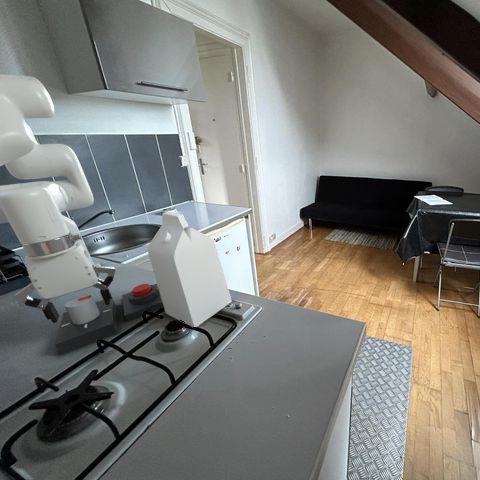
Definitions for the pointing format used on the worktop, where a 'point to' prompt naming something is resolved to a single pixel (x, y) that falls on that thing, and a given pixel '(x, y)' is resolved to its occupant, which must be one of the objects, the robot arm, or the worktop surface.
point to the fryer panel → (87, 328)
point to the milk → (187, 271)
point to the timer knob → (82, 309)
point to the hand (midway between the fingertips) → (83, 310)
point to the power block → (141, 303)
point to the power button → (141, 290)
